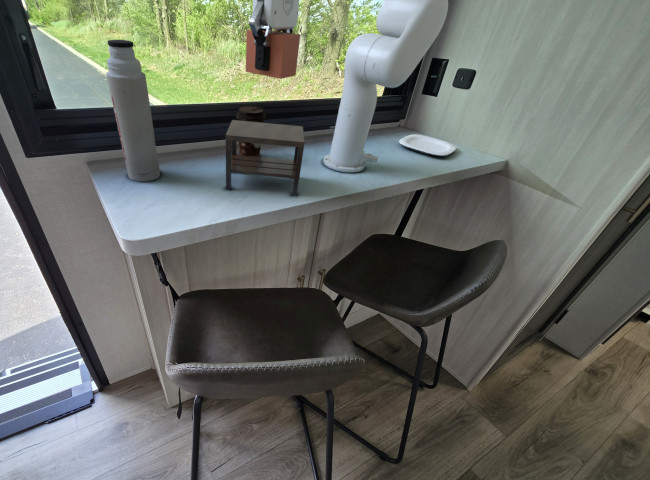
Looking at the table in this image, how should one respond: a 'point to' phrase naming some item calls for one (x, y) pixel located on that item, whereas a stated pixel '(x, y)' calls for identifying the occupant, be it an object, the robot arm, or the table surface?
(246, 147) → the coffee cup
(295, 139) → the slatted side table
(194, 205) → the table surface
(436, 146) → the plate
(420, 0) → the robot arm
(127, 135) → the thermos bottle
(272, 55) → the tissue box
